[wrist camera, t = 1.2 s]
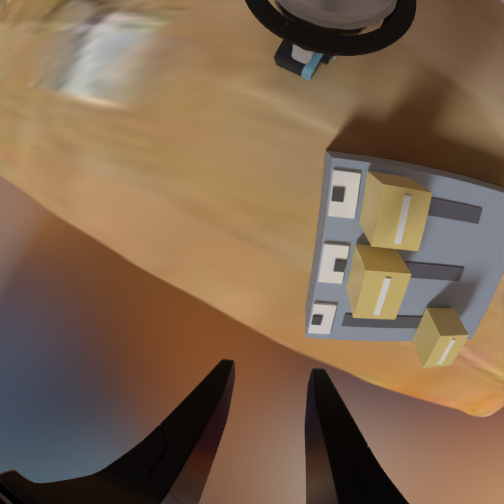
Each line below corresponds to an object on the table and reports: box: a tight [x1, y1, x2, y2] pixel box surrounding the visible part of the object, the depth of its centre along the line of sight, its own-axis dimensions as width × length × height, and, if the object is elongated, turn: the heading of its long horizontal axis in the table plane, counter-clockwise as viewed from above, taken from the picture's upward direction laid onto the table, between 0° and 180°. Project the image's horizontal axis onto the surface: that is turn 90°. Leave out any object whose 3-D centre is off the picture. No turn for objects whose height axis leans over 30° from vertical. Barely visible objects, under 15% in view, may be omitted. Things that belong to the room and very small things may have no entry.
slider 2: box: [346, 244, 411, 320], centre depth 14 cm, size 2×3×3 cm
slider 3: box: [413, 308, 469, 368], centre depth 15 cm, size 2×3×3 cm
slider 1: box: [359, 171, 432, 251], centre depth 12 cm, size 2×3×3 cm
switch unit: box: [305, 150, 504, 341], centre depth 16 cm, size 14×12×3 cm
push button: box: [245, 0, 416, 81], centre depth 8 cm, size 7×5×10 cm
